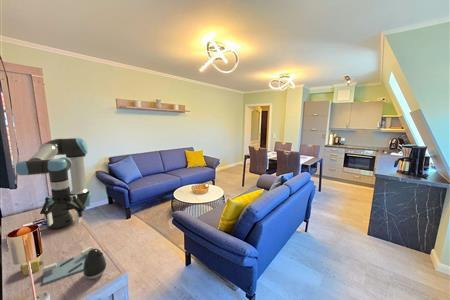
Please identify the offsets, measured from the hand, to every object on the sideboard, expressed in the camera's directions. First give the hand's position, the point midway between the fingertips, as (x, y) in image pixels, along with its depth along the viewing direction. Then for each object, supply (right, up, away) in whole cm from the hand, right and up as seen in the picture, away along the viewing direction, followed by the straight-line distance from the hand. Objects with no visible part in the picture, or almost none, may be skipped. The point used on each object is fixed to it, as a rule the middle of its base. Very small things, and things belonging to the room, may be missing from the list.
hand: (65, 223), depth 107 cm
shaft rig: (+3, -25, +1) cm, 25 cm away
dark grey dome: (+19, -27, -3) cm, 33 cm away
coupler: (-16, -24, -2) cm, 29 cm away
